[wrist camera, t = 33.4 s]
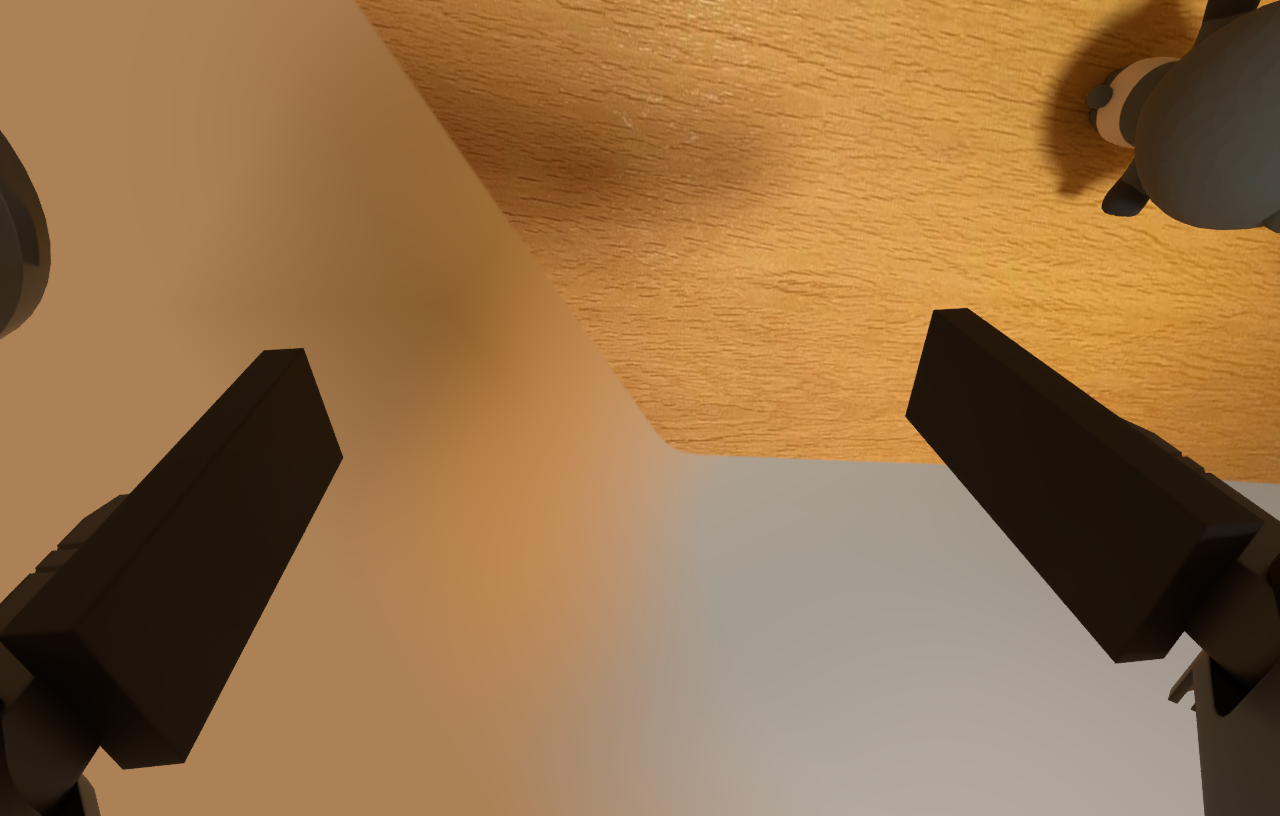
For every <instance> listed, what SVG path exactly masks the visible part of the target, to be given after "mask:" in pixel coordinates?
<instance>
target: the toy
mask: <svg viewBox="0 0 1280 816" xmlns="http://www.w3.org/2000/svg"><path fill="white" fill-rule="evenodd" d="M1259 2H1260V0H1208V3H1207V6H1206V10H1205V14H1204V18H1203V22H1202V26H1201V29H1200V31H1199V34H1198V36H1197V39H1196V41H1195V44H1194V46H1193V48H1192V50H1191V51H1189V52H1188V53H1187V54H1186V55H1185V56H1184V57H1182V58H1181V59H1179V58H1173V57H1154V58H1146V59H1141V60H1138V61H1136V62H1134V63H1132V64H1130V65H1127V66H1125V67H1123V68H1121V69H1119V70H1117V71H1115V72H1113V73H1112V74H1110V75H1109V76H1108V78H1107V79H1106V81H1105V84H1101V85H1097V86H1095V87H1094V88H1092V89H1091V90H1090V91H1089V92H1088V94H1087V96H1086V103H1087V104H1088V106H1089V107H1091V108H1094V109H1093V110H1092V111H1091V113H1090V115H1089V120H1090V123H1091V124H1092V126H1093V127H1094V129H1095V130H1096V131H1097V132H1098V133H1099V135H1100V136H1101V137H1102V138H1103V139H1104V140H1106V141H1108V142H1110V143H1112V144H1115V145H1118V146H1121V147H1127V148H1134V150H1135V157H1134V159H1133V161H1132V162H1131V164H1130V165H1129V167H1128V168H1127V170H1126V171H1125V173H1124V174H1123V175H1122V177H1121V178H1120V179H1119V180H1118V181H1117V182H1116V183H1115V185H1114V186H1113V187H1112V188H1111V189H1110V190H1109V192H1108V193H1107V194H1106V196H1105V198H1104V200H1103V203H1102V210H1103V211H1104V212H1105V213H1107V214H1110V215H1115V216H1126V217H1130V216H1135V215H1137V214H1138V213H1139V212H1140V211H1141V210H1142V209H1143V207H1144V206H1145V205H1146V203H1147V202H1148V200H1149V199H1151V201H1152V202H1153V203H1154V204H1155V205H1156V206H1158V207H1159V208H1160V209H1161V210H1162V211H1163V212H1164V213H1165V214H1167V215H1169V216H1170V217H1172V218H1174V219H1175V220H1178V221H1180V222H1182V223H1185V224H1188V225H1191V226H1195V227H1198V228H1206V229H1215V230H1236V229H1250V228H1256V227H1263V226H1265V227H1266V228H1268V229H1270V230H1272V231H1274V232H1276V233H1280V0H1279V1H1276V2H1273V3H1270V4H1267V5H1264V6H1262V7H1260V8H1258V9H1257V7H1258V5H1259Z"/></svg>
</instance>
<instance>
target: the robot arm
mask: <svg viewBox="0 0 1280 816" xmlns="http://www.w3.org/2000/svg"><path fill="white" fill-rule="evenodd" d="M905 417H906V418H907V419H908V420H909V421H910V423H911V424H912V425H913V426H914V427H915V428H916V430H917V431H918V432H919V433H920V434H921V436H922V437H923V438H924V439H925V440H926V441H927V443H928V444H929V445H930V446H931V447H932V448H933V450H934V451H935V452H936V453H937V454H938V455H939V457H940V458H941V459H942V460H943V461H944V463H945V464H946V465H947V466H948V467H949V468H950V470H951V471H952V472H953V473H954V474H955V475H956V477H957V478H958V479H959V480H960V481H961V482H962V484H963V485H964V486H965V487H966V488H967V489H968V491H969V492H970V493H971V494H972V495H973V496H974V498H975V499H976V500H977V501H978V502H979V503H980V505H981V506H982V507H983V508H984V509H985V511H986V512H987V513H988V514H989V515H990V516H991V518H992V519H993V520H994V521H995V522H996V524H997V525H998V526H999V527H1000V528H1001V530H1002V531H1003V532H1004V533H1005V534H1006V535H1007V537H1008V538H1009V539H1010V540H1011V541H1012V542H1013V544H1014V545H1015V546H1016V547H1017V548H1018V549H1019V551H1020V552H1021V553H1022V554H1023V555H1024V556H1025V558H1026V559H1027V560H1028V561H1029V562H1030V564H1031V565H1032V566H1033V567H1034V568H1035V569H1036V571H1037V572H1038V573H1039V574H1040V575H1041V577H1042V578H1043V579H1044V580H1045V581H1046V582H1047V584H1048V585H1049V586H1050V587H1051V588H1052V589H1053V591H1054V592H1055V593H1056V594H1057V595H1058V597H1059V598H1060V599H1061V600H1062V601H1063V602H1064V604H1065V605H1066V606H1067V607H1068V608H1069V609H1070V611H1071V612H1072V613H1073V614H1074V615H1075V616H1076V617H1077V619H1078V620H1079V621H1080V622H1081V624H1082V625H1083V626H1084V627H1085V628H1086V629H1087V630H1088V632H1089V633H1090V634H1091V635H1092V636H1093V638H1094V639H1095V640H1096V641H1097V642H1098V644H1099V645H1100V646H1101V647H1102V648H1103V649H1104V651H1106V653H1107V654H1108V655H1109V656H1110V658H1111V659H1112V660H1113V661H1114V662H1115V663H1126V662H1135V661H1144V660H1154V659H1163V658H1164V657H1165V656H1166V655H1167V653H1168V652H1169V651H1170V649H1171V648H1172V647H1173V645H1174V644H1175V643H1176V641H1177V640H1178V639H1179V637H1180V636H1181V635H1182V633H1183V632H1184V631H1185V632H1186V633H1187V634H1188V635H1189V636H1190V637H1191V638H1192V639H1193V640H1194V641H1196V643H1197V644H1198V645H1200V647H1201V648H1202V649H1203V650H1202V651H1201V652H1200V653H1199V655H1198V656H1197V657H1196V658H1195V660H1194V661H1193V662H1192V663H1191V665H1190V666H1189V667H1188V669H1187V670H1186V671H1185V672H1184V674H1183V675H1182V676H1181V678H1180V679H1179V680H1178V681H1177V682H1176V684H1175V685H1174V686H1173V687H1172V689H1171V691H1170V695H1169V698H1168V700H1170V701H1172V702H1175V703H1178V702H1179V701H1180V700H1181V698H1182V697H1183V696H1184V695H1185V694H1186V692H1188V691H1191V690H1194V694H1195V704H1194V705H1193V706H1192V708H1191V710H1193V711H1195V712H1196V718H1197V729H1198V742H1199V754H1200V765H1201V777H1202V789H1203V801H1204V812H1205V816H1280V521H1278V520H1277V519H1275V518H1274V517H1273V516H1271V515H1270V514H1268V513H1267V512H1266V511H1264V510H1263V509H1261V508H1260V507H1259V506H1257V505H1256V504H1254V503H1253V502H1251V501H1250V500H1249V499H1247V498H1246V497H1244V496H1243V495H1241V494H1240V493H1239V492H1237V491H1236V490H1234V489H1233V488H1232V487H1230V486H1229V485H1227V484H1226V483H1224V482H1223V481H1222V480H1220V479H1219V478H1217V477H1216V476H1214V475H1213V474H1212V473H1205V471H1204V470H1205V469H1204V468H1203V467H1202V466H1200V465H1199V464H1197V463H1196V462H1195V461H1193V460H1192V459H1190V458H1189V457H1183V456H1182V452H1180V451H1179V450H1177V449H1176V448H1175V447H1173V446H1172V445H1170V444H1169V443H1168V442H1166V441H1165V440H1163V439H1162V438H1160V437H1159V436H1158V435H1156V434H1155V433H1153V432H1151V431H1148V430H1146V429H1144V428H1142V427H1140V426H1137V425H1135V424H1133V423H1131V422H1129V421H1127V420H1124V419H1122V418H1120V417H1118V416H1117V415H1116V414H1114V413H1113V412H1111V411H1110V410H1109V409H1107V408H1106V407H1105V406H1103V405H1102V404H1100V403H1099V402H1098V401H1096V400H1095V399H1093V398H1092V397H1091V396H1089V395H1088V394H1086V393H1085V392H1084V391H1082V390H1081V389H1079V388H1078V387H1077V386H1075V385H1074V384H1073V383H1071V382H1070V381H1068V380H1067V379H1066V378H1064V377H1063V376H1061V375H1060V374H1059V373H1057V372H1056V371H1054V370H1053V369H1052V368H1050V367H1049V366H1047V365H1046V364H1045V363H1043V362H1042V361H1040V360H1039V359H1038V358H1036V357H1035V356H1034V355H1032V354H1031V353H1029V352H1028V351H1027V350H1025V349H1024V348H1022V347H1021V346H1020V345H1018V344H1017V343H1015V342H1014V341H1013V340H1011V339H1010V338H1008V337H1007V336H1006V335H1004V334H1003V333H1002V332H1000V331H999V330H997V329H996V328H995V327H993V326H992V325H990V324H989V323H988V322H986V321H985V320H983V319H982V318H981V317H979V316H978V315H976V314H975V313H974V312H972V311H971V310H970V309H968V308H959V309H942V310H933V314H932V317H931V321H930V325H929V329H928V333H927V336H926V340H925V344H924V348H923V351H922V355H921V359H920V363H919V366H918V370H917V374H916V378H915V381H914V385H913V389H912V393H911V396H910V400H909V404H908V408H907V411H906V415H905ZM342 459H343V455H342V453H341V450H340V447H339V444H338V442H337V439H336V436H335V433H334V431H333V428H332V425H331V423H330V420H329V417H328V414H327V411H326V409H325V406H324V403H323V400H322V398H321V395H320V392H319V389H318V387H317V384H316V381H315V378H314V376H313V373H312V370H311V368H310V365H309V362H308V359H307V356H306V354H305V351H304V349H303V348H296V349H279V350H264V351H263V352H262V353H261V354H260V355H259V356H258V357H257V358H256V359H255V360H254V361H253V362H252V363H251V365H250V366H249V367H248V368H247V369H246V370H245V371H244V372H243V373H242V374H241V376H239V377H238V378H237V379H236V381H235V382H234V383H233V384H232V385H231V386H230V387H229V388H228V389H227V390H226V391H225V392H224V394H223V395H222V396H221V397H220V398H219V399H218V400H217V401H216V402H215V403H214V404H213V405H212V406H211V407H210V409H208V411H207V412H206V413H205V414H204V415H203V416H202V417H201V418H200V419H199V420H198V421H197V422H196V423H195V425H194V426H193V427H192V428H191V429H190V430H189V431H188V432H187V433H186V434H185V435H184V436H183V437H182V438H181V439H180V441H179V442H178V443H177V444H176V445H175V446H174V447H173V448H172V449H171V450H170V451H169V452H168V454H166V456H165V457H164V458H163V459H162V460H161V461H160V462H159V463H158V464H157V465H156V466H155V467H154V468H153V469H152V471H151V472H150V473H149V474H148V475H147V476H146V477H145V478H144V479H143V480H142V481H141V483H139V484H138V486H137V487H136V488H135V489H134V490H133V491H132V492H131V493H130V494H125V495H119V496H117V497H116V498H114V499H113V500H111V501H110V502H108V503H107V504H105V505H104V506H102V507H100V508H99V509H97V510H96V511H94V512H93V513H92V514H90V515H88V516H87V517H85V518H84V519H83V520H82V521H81V522H80V523H79V524H78V525H77V526H76V527H75V528H74V529H73V530H72V531H71V532H70V533H69V534H68V535H67V536H66V537H65V538H64V539H63V540H62V541H61V542H60V543H59V544H58V545H57V546H58V549H57V551H51V552H50V553H49V554H48V555H47V556H46V557H45V558H44V559H43V560H42V562H41V563H40V564H39V565H38V566H37V567H36V568H35V569H36V572H35V573H33V574H29V575H28V576H27V577H26V578H25V579H24V580H23V581H22V582H21V583H20V584H19V585H18V586H17V587H16V588H15V589H14V590H13V591H12V592H11V593H10V594H9V595H8V596H7V597H6V598H5V599H4V600H3V601H2V602H1V604H0V816H101V815H100V811H99V807H98V803H97V799H96V794H95V790H94V788H93V787H92V785H91V784H90V782H89V781H88V780H87V778H86V777H85V776H84V775H83V774H82V772H83V771H84V769H85V768H86V766H87V765H88V763H89V762H90V760H91V758H92V757H93V756H94V754H95V752H96V751H97V749H98V748H99V746H101V747H102V748H103V749H104V750H105V751H106V752H107V754H108V755H109V756H110V757H111V758H112V759H113V760H114V761H115V762H116V763H117V764H118V765H119V766H120V767H121V768H122V769H123V770H124V769H134V768H143V767H152V766H162V765H171V764H180V763H185V761H186V759H187V757H188V755H189V753H190V751H191V749H192V747H193V745H194V743H195V741H196V739H197V737H198V736H199V734H200V732H201V730H202V728H203V726H204V724H205V722H206V720H207V718H208V716H209V715H210V713H211V711H212V709H213V707H214V705H215V703H216V701H217V699H218V697H219V695H220V693H221V691H222V690H223V688H224V686H225V684H226V682H227V680H228V678H229V676H230V674H231V672H232V670H233V668H234V667H235V664H236V663H237V661H238V659H239V657H240V655H241V653H242V651H243V649H244V647H245V645H246V643H247V641H248V639H249V638H250V636H251V634H252V632H253V630H254V628H255V626H256V624H257V622H258V620H259V619H260V617H261V614H262V613H263V611H264V609H265V607H266V605H267V603H268V601H269V599H270V597H271V595H272V594H273V592H274V589H275V588H276V586H277V584H278V582H279V580H280V578H281V576H282V574H283V572H284V570H285V569H286V566H287V564H288V563H289V561H290V559H291V557H292V555H293V553H294V551H295V549H296V547H297V546H298V544H299V542H300V540H301V538H302V536H303V534H304V532H305V530H306V528H307V526H308V524H309V522H310V521H311V519H312V517H313V514H314V513H315V511H316V509H317V507H318V505H319V503H320V501H321V499H322V497H323V496H324V494H325V492H326V490H327V488H328V486H329V484H330V482H331V480H332V478H333V476H334V474H335V473H336V471H337V469H338V467H339V465H340V463H341V461H342Z"/></svg>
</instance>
